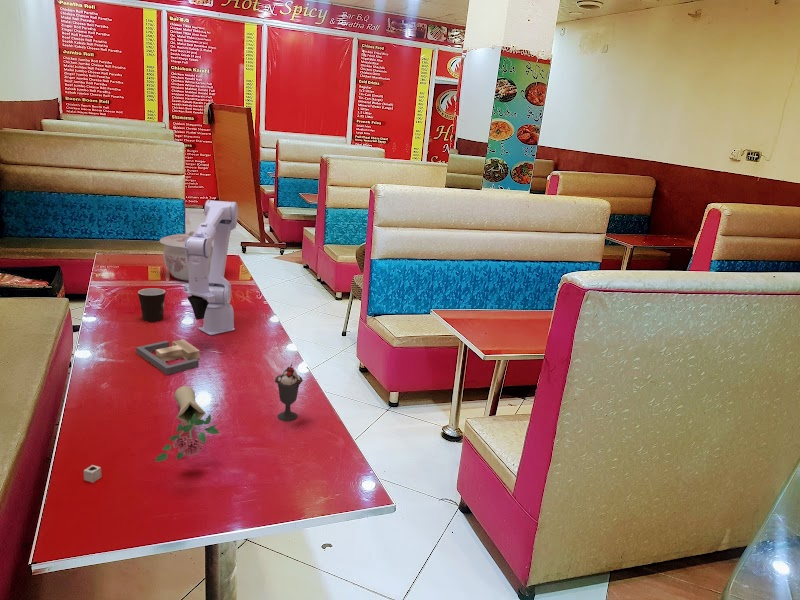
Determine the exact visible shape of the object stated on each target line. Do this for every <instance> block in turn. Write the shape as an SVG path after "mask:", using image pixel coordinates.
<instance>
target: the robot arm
mask: <svg viewBox="0 0 800 600" xmlns="http://www.w3.org/2000/svg"><path fill="white" fill-rule="evenodd" d="M204 215H205V219H204V221H203V222H201V223H199V224H198V226H197V228H195V231H194V232H195V233H194V234H193V236H192V237H189V238H187V239H186V242H185V254H186V259H187V262H188V267H189V281H188V283H187V284H184V285H183V291H184V292H185V295H187V300H188V302H189V303H190V305H191V307H192V308H191V309H192V311H193V314H194V318H195V319H196V320H197V321H198V320H203V325H202V326H199V327H198V330H200V331H201V332H204V333H205V334H206V335H209V336H214V335H218V334H223V333H227V332H228V333H229V332H231V331H235V330H236V328H235V325H234V323H235V313H234V308H233V305H232V304H231V303H230V302H231V299H232V284H231V282H229V280H227V279H226V278H225V272H226V271H225V270H226V265H227V257H228V251H229V250H228V249H229V244H230V243H229V242H230V236H231V233H232V232H231V231H233V230H234V229H235V230H236V227H237V224H238V218H239V206H238V203H237V201H223V200H211V199H207V200H206V201H205V204H204ZM214 237H215V238H214ZM213 239H214V245H213V252H212V259H211V266H210V273H209V265H208V257H209V255H210V253H211V247H212V241H213Z"/></svg>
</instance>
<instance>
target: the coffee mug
mask: <svg viewBox="0 0 800 600" xmlns="http://www.w3.org/2000/svg"><path fill="white" fill-rule="evenodd" d="M137 294H138V299H139V305H140V309H141V316H142V320H144V321H143V322H145V321H148V322H147V323H157V321H159V322H161V321H162V319H163V320H164V311H165V299H166V290H165V289H163V288H156V287H155V288H153V287H151V288H143V289H140V290H138V291H137Z"/></svg>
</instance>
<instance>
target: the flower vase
mask: <svg viewBox="0 0 800 600" xmlns="http://www.w3.org/2000/svg"><path fill="white" fill-rule="evenodd" d="M195 393H196V391H194V389H193V388H192V387H190V386H188V385H183V386H180V387H179V388H177V389H176V390H175V392H174V400H175V401H176V403H177V405H178V406H179V412H178V414H177V415H176V417H175V418H176V419H177V420H179V421H180V422H181V423H183V424H184V425H183V424H181V423H178V426H177V427H176V433H178V434H175V435H172V436H170V437H169V438H168V440H170V441H172V442H173V443H172V444H170V443H168V444H166V445H164V446H163V448H162V451H168V452H167V453H165V452H162V453H160V454H159V455H157V456H156V458H155V460H154V462H162V461H163V462H164V461H166V460H167V459H168V455H169V453H170V451H172V448H173V449H177V451H178V452H177V454H176V461H177V460H179V459H183V457H184V456H186V457H195V456H196V455H198V454H200V453H201V452H202V451H203V447H204V445H206V441H207V437H206V434H205V432H207V433H208V434H211V435H217V434H220V431H219V430H218V429H217V428H216V427H217V426H218V424H213V425H210V423H211V420H212V416H211V414H208V415H207V417H206V419H202V418H203V417H204V416H205V414H206V411H205V410H204V409H203V408H202V407H201V406H200V405H199V404H198V403H197V402H196V394H195ZM204 425H210V426H209V427H205V426H204ZM200 427H203V430H205V432H201V431H199V433H198V434H197V438H194V437H192V430H196V429H198V430H201V428H200ZM184 433H185V434H186V433H187V435H183V434H184ZM182 435H183V436H182ZM188 436H189V437H188ZM202 443H203V444H202Z"/></svg>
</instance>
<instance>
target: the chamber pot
mask: <svg viewBox="0 0 800 600" xmlns="http://www.w3.org/2000/svg"><path fill="white" fill-rule="evenodd" d="M194 233H195V231H190V232H188V233H177V234H173V235H172V234H171V235H167V236H163V237H161V238H160V239H159V243H160V244H162V245H164V246H165V247H164V249H163V252H162V255H163V261H164V264H165V267H166V268H167V270H168V271H169V273H170V274H171V276H172V277H173V278H174V279H177V280H179V281H185V282H189V267H188V262H187V259H186V254H185V242H186V239H187V238H189V237H192V236H193V234H194ZM214 238H215V237H214ZM213 245H214V239H213V241H212V247H211V253H210V255H209V257H208V265H209V273H210V266H211V259H212V252H213Z"/></svg>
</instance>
